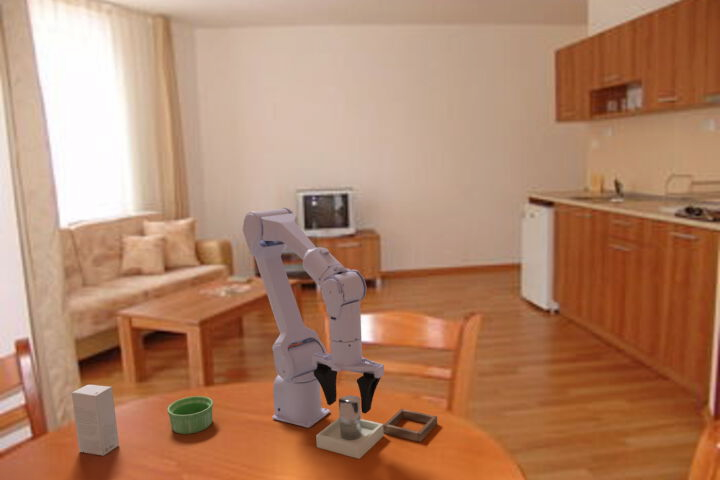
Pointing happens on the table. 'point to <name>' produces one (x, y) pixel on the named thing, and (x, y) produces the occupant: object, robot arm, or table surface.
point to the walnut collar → (407, 433)
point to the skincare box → (95, 419)
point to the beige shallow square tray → (353, 448)
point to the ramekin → (190, 414)
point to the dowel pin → (350, 417)
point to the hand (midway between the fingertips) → (348, 406)
